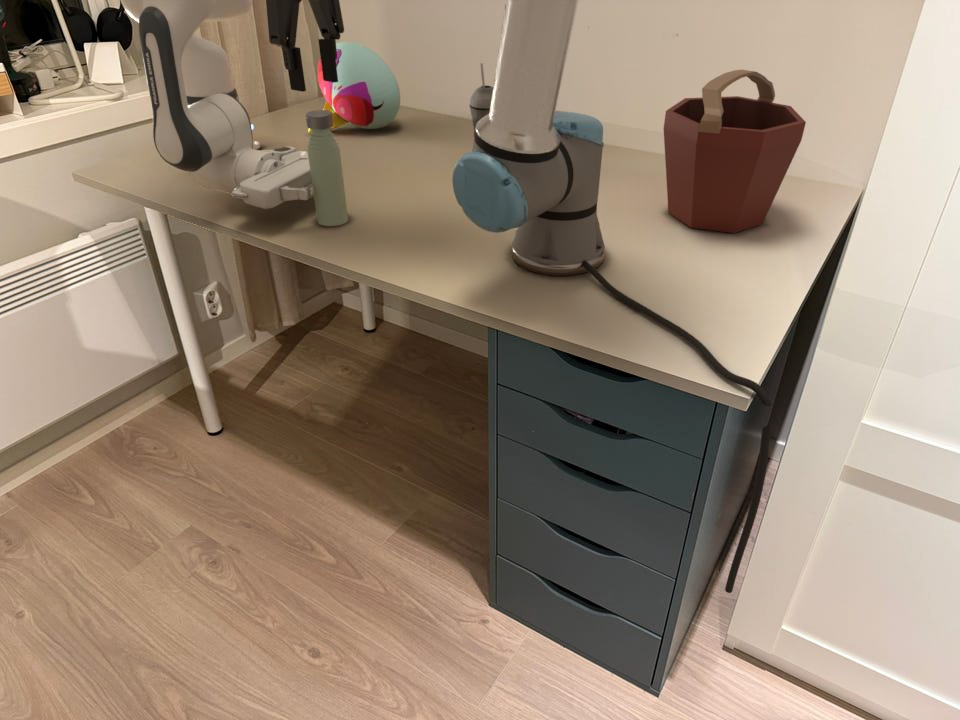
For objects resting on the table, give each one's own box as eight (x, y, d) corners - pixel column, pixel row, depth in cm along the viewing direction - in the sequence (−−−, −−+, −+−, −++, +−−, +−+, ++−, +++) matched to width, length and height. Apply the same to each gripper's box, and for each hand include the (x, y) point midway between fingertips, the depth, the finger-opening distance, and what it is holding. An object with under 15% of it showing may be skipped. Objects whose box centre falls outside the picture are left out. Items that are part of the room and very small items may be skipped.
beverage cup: (489, 165, 155) (489, 69, 144) (463, 159, 159) (461, 64, 148) (508, 156, 160) (510, 63, 149) (483, 150, 164) (482, 59, 152)
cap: (333, 121, 123) (331, 109, 122) (333, 128, 120) (332, 116, 119) (307, 123, 123) (305, 110, 121) (307, 130, 119) (305, 117, 118)
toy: (277, 110, 181) (275, 51, 163) (352, 72, 191) (358, 13, 173) (336, 175, 178) (341, 122, 160) (410, 134, 188) (421, 79, 170)
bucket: (710, 250, 119) (740, 96, 105) (622, 208, 134) (638, 69, 120) (804, 218, 129) (843, 75, 115) (713, 183, 145) (736, 53, 131)
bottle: (347, 213, 134) (335, 110, 123) (348, 224, 129) (336, 119, 118) (317, 215, 133) (302, 112, 122) (317, 227, 128) (302, 121, 118)
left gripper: (221, 176, 123) (285, 187, 118) (294, 143, 138) (353, 152, 133) (229, 210, 126) (291, 223, 121) (299, 175, 142) (357, 184, 137)
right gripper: (258, -73, 96) (286, 101, 109) (357, -79, 109) (371, 76, 122) (222, -74, 100) (253, 94, 113) (322, -80, 113) (339, 71, 126)
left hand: (324, 185), depth 127 cm, fingers open, 8 cm apart
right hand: (314, 85), depth 117 cm, fingers open, 7 cm apart
